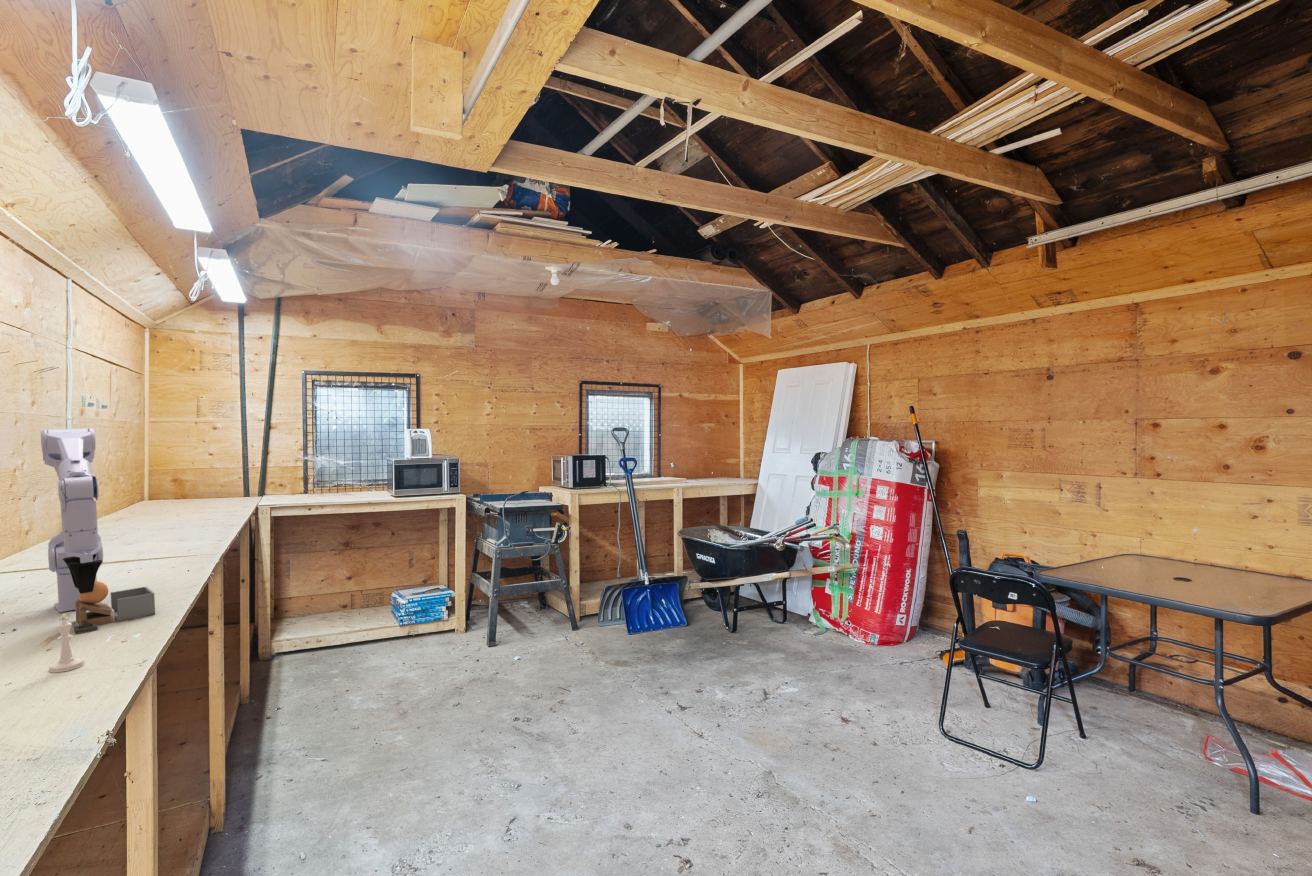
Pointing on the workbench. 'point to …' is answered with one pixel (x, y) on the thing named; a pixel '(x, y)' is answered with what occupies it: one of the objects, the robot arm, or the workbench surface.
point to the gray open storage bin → (132, 603)
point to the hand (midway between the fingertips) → (83, 589)
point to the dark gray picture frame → (85, 628)
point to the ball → (95, 593)
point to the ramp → (93, 613)
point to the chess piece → (65, 650)
